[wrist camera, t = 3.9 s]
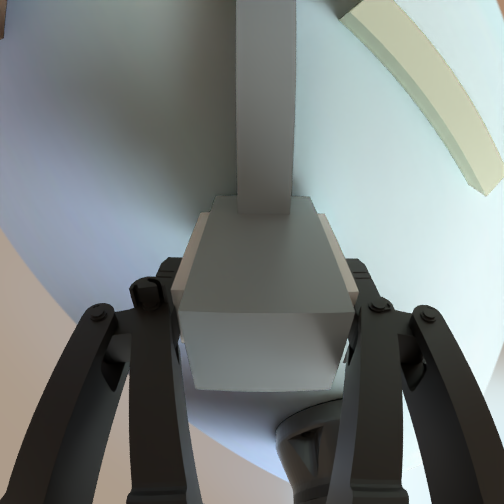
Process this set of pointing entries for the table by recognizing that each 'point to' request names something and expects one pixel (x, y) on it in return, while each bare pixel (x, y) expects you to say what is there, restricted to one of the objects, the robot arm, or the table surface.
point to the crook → (265, 240)
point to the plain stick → (429, 87)
